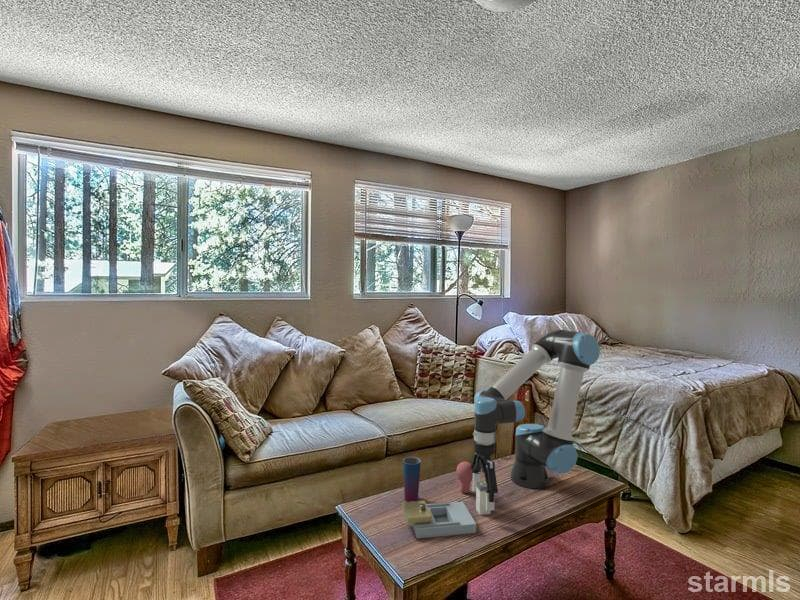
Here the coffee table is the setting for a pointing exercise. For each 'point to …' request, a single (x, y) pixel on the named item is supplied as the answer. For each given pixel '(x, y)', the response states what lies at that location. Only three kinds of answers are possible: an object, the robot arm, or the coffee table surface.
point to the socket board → (446, 521)
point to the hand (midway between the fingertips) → (482, 499)
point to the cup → (411, 478)
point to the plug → (481, 498)
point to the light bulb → (465, 476)
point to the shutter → (416, 513)
